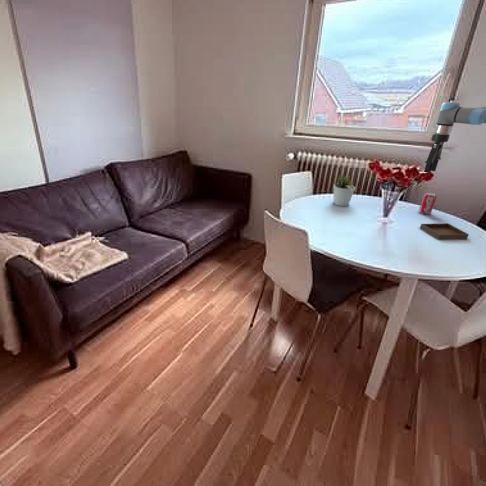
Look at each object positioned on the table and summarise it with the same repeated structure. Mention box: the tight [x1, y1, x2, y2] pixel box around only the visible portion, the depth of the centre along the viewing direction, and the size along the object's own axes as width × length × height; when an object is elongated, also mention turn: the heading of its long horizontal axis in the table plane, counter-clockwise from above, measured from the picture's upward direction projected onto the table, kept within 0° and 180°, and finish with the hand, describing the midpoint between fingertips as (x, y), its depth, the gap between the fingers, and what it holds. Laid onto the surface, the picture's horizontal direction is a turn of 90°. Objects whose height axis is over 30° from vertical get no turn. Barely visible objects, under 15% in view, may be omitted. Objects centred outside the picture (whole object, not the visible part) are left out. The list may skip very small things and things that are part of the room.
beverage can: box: [418, 192, 437, 215], centre depth 181 cm, size 6×6×12 cm
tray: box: [419, 222, 470, 241], centre depth 158 cm, size 13×15×3 cm
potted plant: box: [331, 174, 356, 207], centre depth 192 cm, size 13×14×20 cm
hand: (429, 173), depth 173 cm, fingers open, 13 cm apart
